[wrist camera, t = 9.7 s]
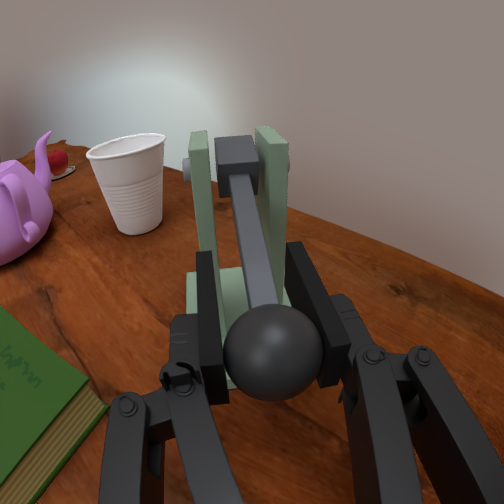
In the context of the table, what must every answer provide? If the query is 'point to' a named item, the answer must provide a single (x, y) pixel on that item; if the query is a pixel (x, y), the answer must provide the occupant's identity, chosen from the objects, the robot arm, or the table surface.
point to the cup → (131, 180)
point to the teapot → (24, 204)
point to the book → (38, 413)
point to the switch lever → (261, 294)
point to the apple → (59, 164)
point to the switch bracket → (270, 212)
